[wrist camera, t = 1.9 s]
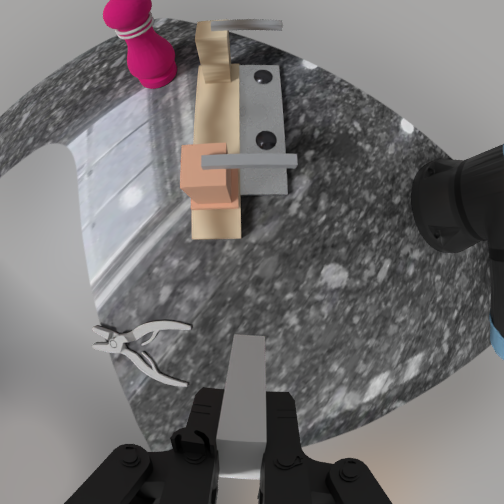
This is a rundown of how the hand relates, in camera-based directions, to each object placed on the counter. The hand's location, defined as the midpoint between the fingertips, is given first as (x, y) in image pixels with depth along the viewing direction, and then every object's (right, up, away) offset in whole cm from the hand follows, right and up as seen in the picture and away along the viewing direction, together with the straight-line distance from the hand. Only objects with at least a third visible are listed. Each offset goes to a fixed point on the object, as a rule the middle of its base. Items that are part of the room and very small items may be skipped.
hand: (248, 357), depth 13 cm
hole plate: (+2, +23, +22) cm, 32 cm away
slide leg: (-2, +13, +19) cm, 24 cm away
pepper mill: (-15, +34, +22) cm, 43 cm away
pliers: (-16, -8, +22) cm, 28 cm away
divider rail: (-2, +20, +22) cm, 30 cm away
